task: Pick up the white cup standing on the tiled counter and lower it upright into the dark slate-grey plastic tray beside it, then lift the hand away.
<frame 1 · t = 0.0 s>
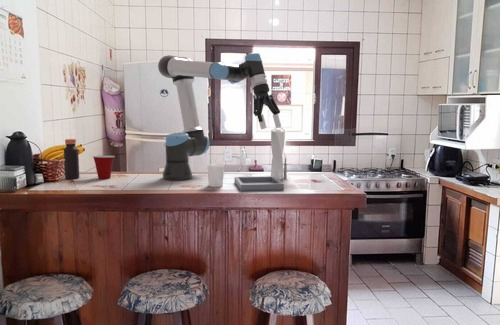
hand: (271, 128, 195), 28 cm above the countertop, tool tilted 20°, fingers open, 13 cm apart
skyscraper: (277, 180, 217), on the countertop
bottle: (72, 178, 210), on the countertop
white cup: (215, 186, 197), on the countertop
slate tray: (258, 186, 197), on the countertop
plastic cup: (104, 178, 212), on the countertop
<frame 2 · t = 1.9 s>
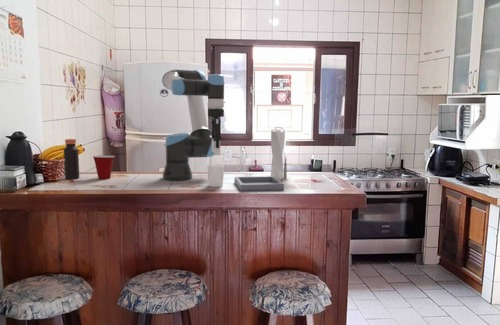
hand: (215, 153, 195), 16 cm above the countertop, tool pointing down, fingers open, 13 cm apart
nothing on the countertop moved.
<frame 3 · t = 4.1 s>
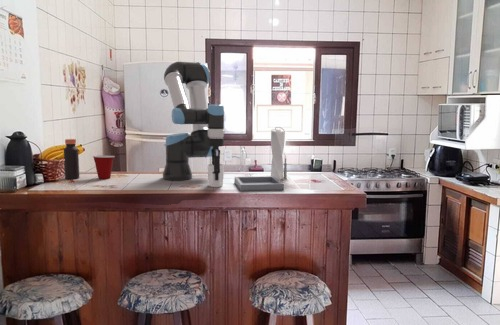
hand: (215, 185, 197), 0 cm above the countertop, tool pointing down, fingers closed on white cup, 8 cm apart
white cup: (215, 186, 197), on the countertop, touching gripper
everything else where it was.
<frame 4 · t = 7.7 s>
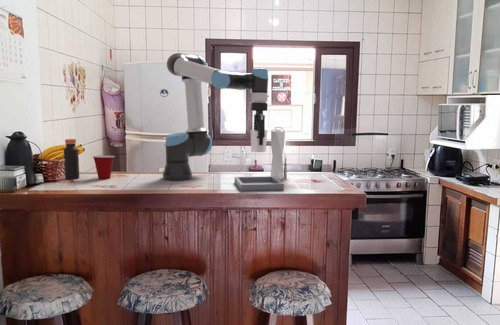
hand: (258, 151, 194), 17 cm above the countertop, tool pointing down, fingers closed on white cup, 7 cm apart
white cup: (258, 151, 194), point 17 cm above the countertop, touching gripper
everything else where it was.
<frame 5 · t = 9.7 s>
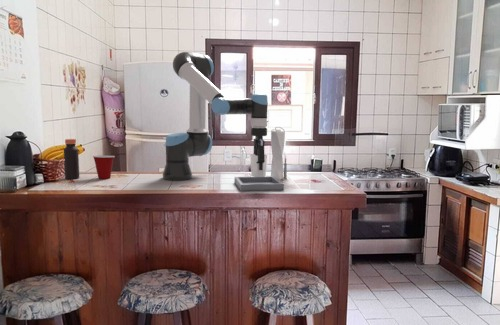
hand: (258, 175, 196), 5 cm above the countertop, tool pointing down, fingers closed on white cup, 7 cm apart
white cup: (258, 176, 196), point 5 cm above the countertop, touching gripper
everything else where it was.
when the fingers open (2 cm above the countertop, at t = 11.3 s): white cup drops 1 cm, resting on slate tray.
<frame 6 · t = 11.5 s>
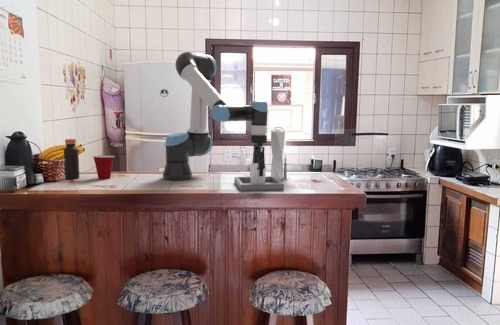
hand: (258, 180, 196), 3 cm above the countertop, tool pointing down, fingers open, 10 cm apart
white cup: (257, 185, 197), resting on slate tray
everything else where it was.
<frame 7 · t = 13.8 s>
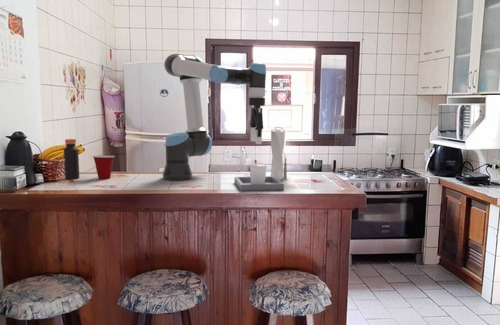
hand: (255, 142, 195), 21 cm above the countertop, tool pointing down, fingers open, 13 cm apart
nothing on the countertop moved.
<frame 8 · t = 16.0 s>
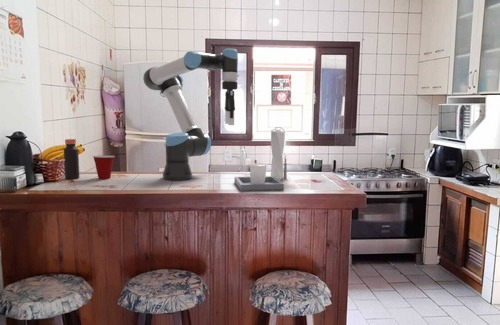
hand: (229, 124, 206), 29 cm above the countertop, tool pointing down, fingers open, 13 cm apart
nothing on the countertop moved.
at the end: white cup inside the target area on the slate tray (0.3 cm from its centre), point 0.4 cm above the slate tray's base; white cup tilted 0°; the gripper is holding nothing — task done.
